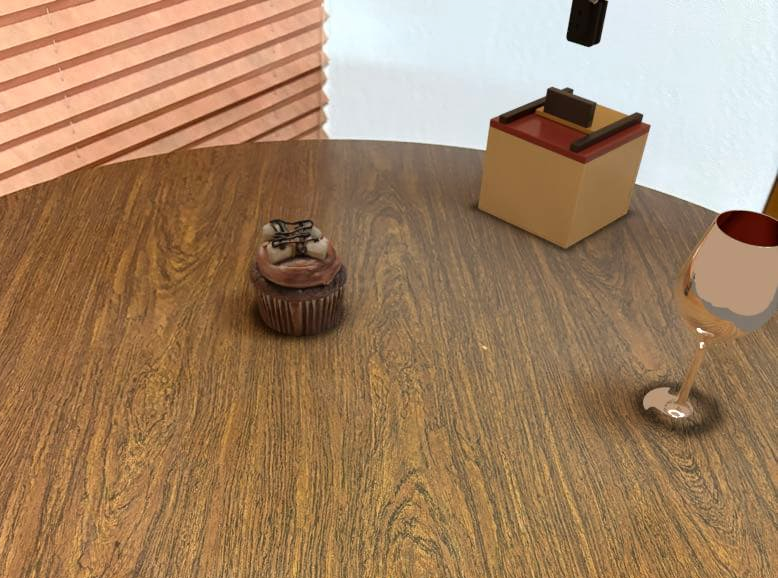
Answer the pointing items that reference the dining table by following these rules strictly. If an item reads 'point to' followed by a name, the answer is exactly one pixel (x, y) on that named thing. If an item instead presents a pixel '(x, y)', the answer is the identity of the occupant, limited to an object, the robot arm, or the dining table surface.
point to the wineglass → (724, 291)
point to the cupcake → (298, 279)
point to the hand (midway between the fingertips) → (582, 42)
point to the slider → (577, 111)
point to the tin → (560, 173)
